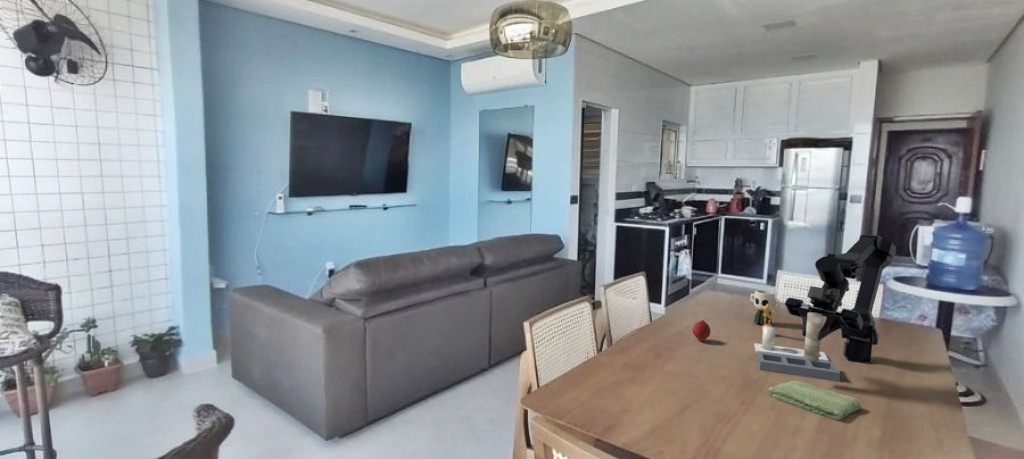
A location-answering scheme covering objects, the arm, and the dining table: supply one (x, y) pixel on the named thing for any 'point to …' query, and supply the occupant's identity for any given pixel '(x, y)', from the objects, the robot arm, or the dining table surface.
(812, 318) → the birch peg
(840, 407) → the washcloth
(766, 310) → the figurine
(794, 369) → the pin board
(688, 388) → the dining table surface
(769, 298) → the character mug
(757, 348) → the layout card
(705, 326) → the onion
